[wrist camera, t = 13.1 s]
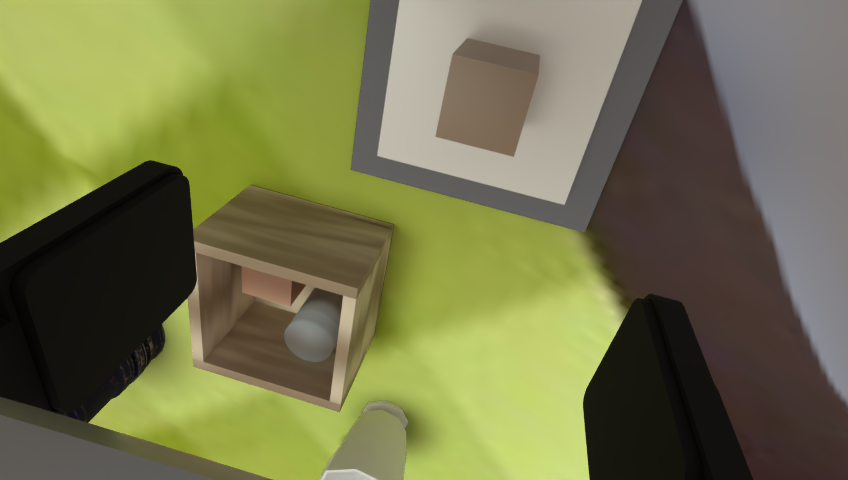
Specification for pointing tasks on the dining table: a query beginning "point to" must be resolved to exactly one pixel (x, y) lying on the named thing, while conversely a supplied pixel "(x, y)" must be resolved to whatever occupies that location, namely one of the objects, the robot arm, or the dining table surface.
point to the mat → (575, 214)
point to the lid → (501, 88)
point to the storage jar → (121, 377)
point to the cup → (372, 446)
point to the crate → (287, 294)
